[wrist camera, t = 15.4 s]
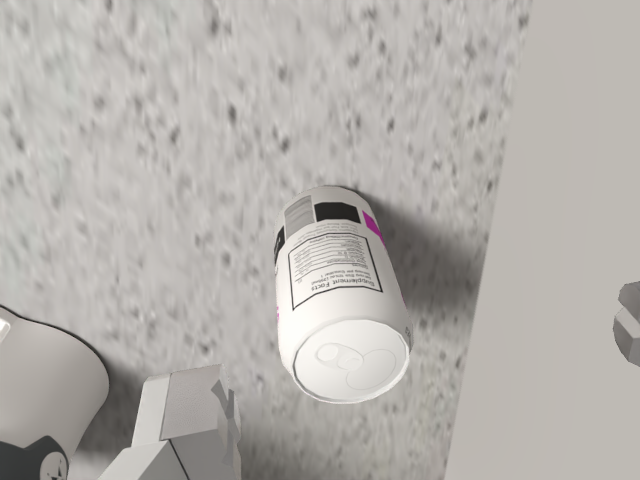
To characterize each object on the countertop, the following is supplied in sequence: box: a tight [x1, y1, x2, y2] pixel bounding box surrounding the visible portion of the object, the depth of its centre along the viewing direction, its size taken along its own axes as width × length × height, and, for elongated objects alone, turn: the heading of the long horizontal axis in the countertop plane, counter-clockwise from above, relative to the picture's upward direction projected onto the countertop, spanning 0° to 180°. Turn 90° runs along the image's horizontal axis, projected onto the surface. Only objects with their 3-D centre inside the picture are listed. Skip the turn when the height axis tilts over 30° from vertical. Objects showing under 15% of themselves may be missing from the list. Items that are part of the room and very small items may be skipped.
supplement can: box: [273, 187, 414, 404], centre depth 38 cm, size 8×8×15 cm
